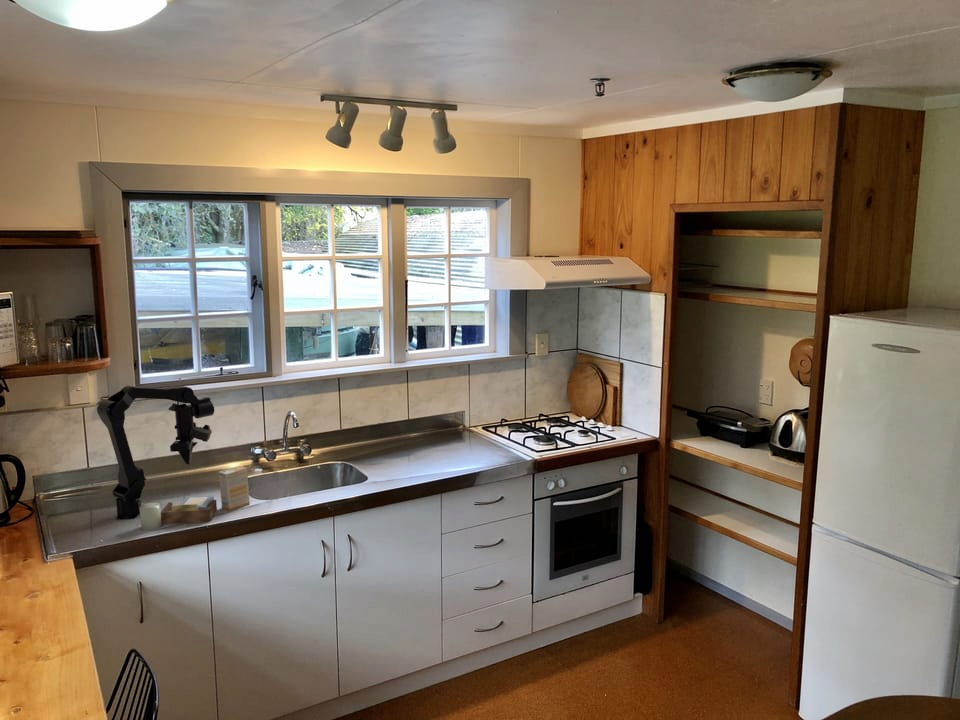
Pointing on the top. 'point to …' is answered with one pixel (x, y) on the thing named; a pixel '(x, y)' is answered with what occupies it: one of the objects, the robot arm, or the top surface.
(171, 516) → the wooden tray
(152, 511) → the frosted glass jar
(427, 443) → the top surface
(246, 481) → the supplement box
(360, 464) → the top surface
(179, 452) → the robot arm
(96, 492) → the top surface
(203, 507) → the carton
